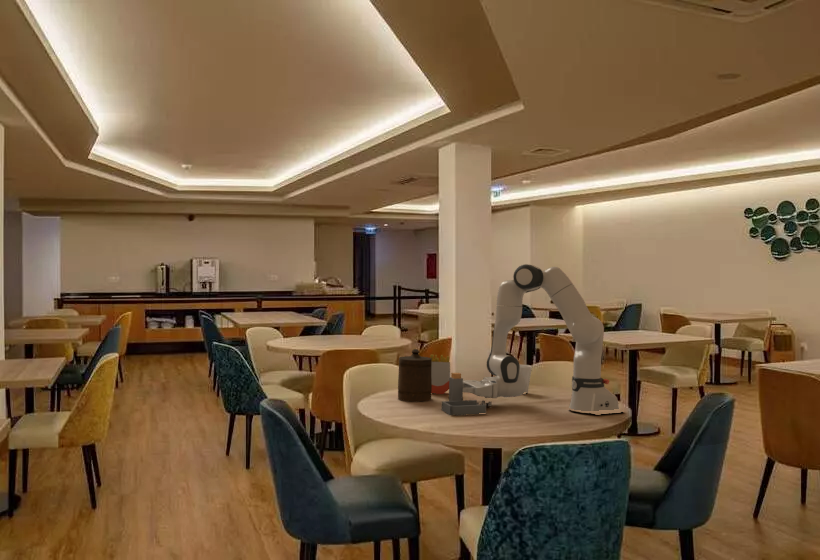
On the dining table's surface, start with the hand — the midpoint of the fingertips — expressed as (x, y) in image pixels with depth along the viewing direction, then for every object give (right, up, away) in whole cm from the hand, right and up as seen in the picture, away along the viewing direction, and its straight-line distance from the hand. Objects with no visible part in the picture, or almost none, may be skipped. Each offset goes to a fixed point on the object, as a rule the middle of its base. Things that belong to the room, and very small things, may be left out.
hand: (458, 388), depth 290 cm
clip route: (+11, -8, -2) cm, 13 cm away
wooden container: (-18, -7, +15) cm, 25 cm away
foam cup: (+32, -8, +35) cm, 48 cm away
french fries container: (-7, -7, +31) cm, 33 cm away
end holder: (+1, -8, -12) cm, 15 cm away
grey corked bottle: (-1, -8, 0) cm, 8 cm away
